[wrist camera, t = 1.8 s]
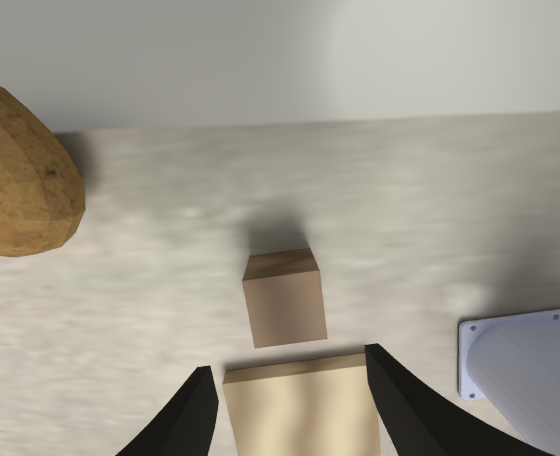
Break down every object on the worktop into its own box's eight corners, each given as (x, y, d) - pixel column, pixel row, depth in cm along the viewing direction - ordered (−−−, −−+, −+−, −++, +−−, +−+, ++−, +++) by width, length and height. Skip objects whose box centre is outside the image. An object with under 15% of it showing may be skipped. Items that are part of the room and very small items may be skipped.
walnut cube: (310, 247, 22) (319, 270, 17) (316, 302, 23) (327, 338, 18) (250, 256, 22) (242, 281, 17) (259, 310, 23) (254, 348, 18)
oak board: (367, 352, 24) (373, 364, 22) (380, 507, 28) (386, 526, 27) (225, 371, 24) (222, 384, 23) (259, 521, 28) (258, 541, 27)
